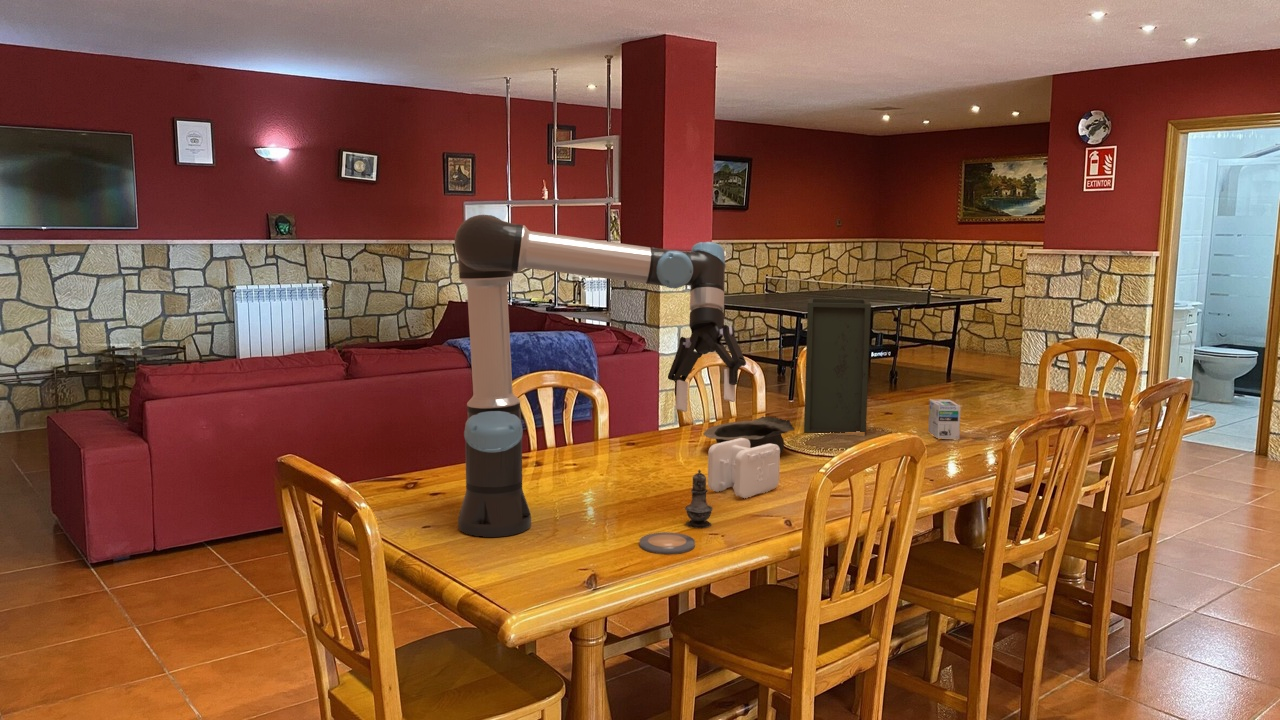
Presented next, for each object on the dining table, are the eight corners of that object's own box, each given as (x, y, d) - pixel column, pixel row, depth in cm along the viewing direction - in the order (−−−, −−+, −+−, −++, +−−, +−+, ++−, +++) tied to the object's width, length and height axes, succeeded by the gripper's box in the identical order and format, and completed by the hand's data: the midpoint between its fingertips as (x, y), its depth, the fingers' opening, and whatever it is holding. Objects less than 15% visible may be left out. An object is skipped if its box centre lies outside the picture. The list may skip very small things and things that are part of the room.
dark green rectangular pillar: (804, 421, 314) (808, 298, 309) (862, 424, 311) (867, 299, 306) (803, 433, 296) (807, 302, 291) (865, 436, 293) (870, 304, 288)
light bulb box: (959, 441, 288) (961, 405, 286) (937, 440, 288) (938, 405, 287) (949, 433, 299) (950, 398, 297) (927, 433, 299) (928, 398, 297)
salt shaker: (681, 526, 204) (681, 471, 203) (689, 519, 210) (690, 464, 208) (708, 530, 202) (709, 473, 201) (715, 522, 208) (716, 467, 206)
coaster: (629, 541, 195) (629, 537, 194) (675, 533, 200) (675, 528, 200) (658, 557, 185) (658, 553, 185) (705, 548, 191) (705, 544, 191)
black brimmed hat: (811, 454, 269) (811, 422, 267) (742, 473, 255) (741, 439, 254) (753, 436, 289) (752, 406, 287) (686, 453, 276) (684, 422, 274)
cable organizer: (746, 481, 241) (747, 435, 239) (781, 490, 233) (782, 442, 232) (706, 493, 230) (707, 445, 229) (741, 502, 223) (742, 452, 221)
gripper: (762, 303, 206) (762, 399, 200) (677, 328, 223) (674, 417, 217) (740, 293, 201) (739, 391, 195) (654, 319, 219) (650, 410, 212)
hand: (704, 405), depth 206 cm, fingers open, 13 cm apart
